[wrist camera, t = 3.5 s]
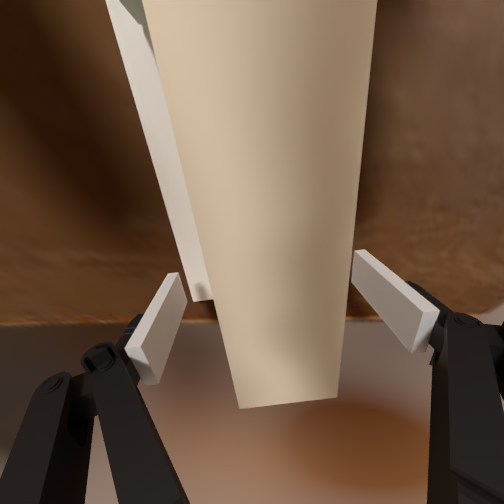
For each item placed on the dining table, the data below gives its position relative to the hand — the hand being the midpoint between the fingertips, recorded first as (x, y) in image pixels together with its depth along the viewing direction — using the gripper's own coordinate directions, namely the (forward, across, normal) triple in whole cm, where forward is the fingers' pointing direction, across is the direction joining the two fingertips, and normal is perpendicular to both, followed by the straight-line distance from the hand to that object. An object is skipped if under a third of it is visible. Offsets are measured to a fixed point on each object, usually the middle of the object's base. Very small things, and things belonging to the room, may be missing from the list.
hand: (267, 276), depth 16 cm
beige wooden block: (+3, 0, +4) cm, 5 cm away
